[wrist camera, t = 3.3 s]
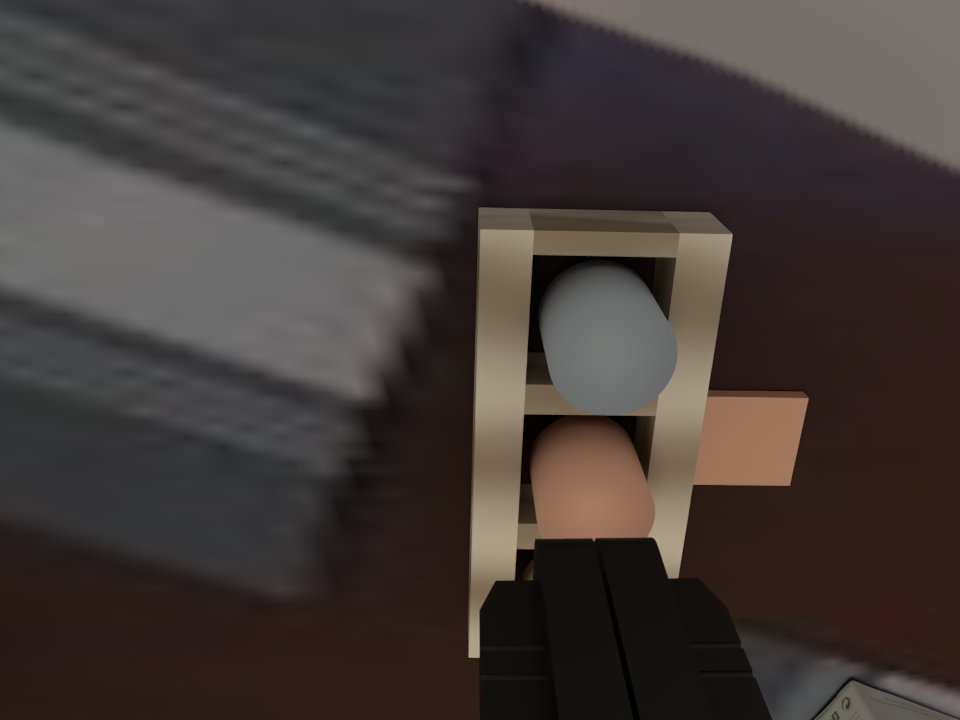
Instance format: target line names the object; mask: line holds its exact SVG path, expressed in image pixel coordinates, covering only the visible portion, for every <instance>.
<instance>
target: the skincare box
mask: <svg viewBox="0 0 960 720" xmlns="http://www.w3.org/2000/svg"><path fill="white" fill-rule="evenodd" d="M814 720H959V719H956V718H953V717H950V716H948V715H945V714H942V713H939V712H937V711H934V710H931V709H929V708H926V707H923V706H921V705H918V704H915V703H913V702H910V701H907V700H905V699H902V698H899V697H897V696H894V695H891V694H888V693H885V692H882V691H880V690H877V689H874V688H871V687H869V686H866V685H864V684H861V683H859V682H856V681H850V682H849V683H848V684H847V685H846V686H845V687H844V688H843V689H842V690H841V691H840V692H839V693H838V695H837V696H836V698H835V699H834V700H833V701H832V702H831V703H830V704H829V705H828V706H827V707H826V708H825V709H824V710H823V711H822V712H821V713H820V714H819V715H818V716H817V717H816V718H815V719H814Z"/></svg>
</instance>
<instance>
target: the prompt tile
mask: <svg viewBox="0 0 960 720" xmlns="http://www.w3.org/2000/svg"><path fill="white" fill-rule="evenodd" d="M808 399H809V398H808V397H807V395H806V394H805V393H804V392H797V391H727V390H708V394H707V400H706V406H705V412H704V419H703V425H702V431H701V438H700V444H699V450H698V457H697V463H696V469H695V475H694V482H693V485H775V486H790V482H791V478H792V473H793V468H794V464H795V459H796V454H797V450H798V445H799V441H800V436H801V431H802V427H803V422H804V418H805V413H806V408H807V404H808Z"/></svg>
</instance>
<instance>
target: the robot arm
mask: <svg viewBox="0 0 960 720" xmlns="http://www.w3.org/2000/svg"><path fill="white" fill-rule="evenodd" d="M479 626H480V720H772V718H771V715H770V713H769V711H768V708H767V706H766V703H765V701H764V698H763V696H762V693H761V691H760V688H759V686H758V683H757V681H756V678H753V676H752V668H751V666H750V663H749V661H748V658H747V656H746V654H745V651H744V649H743V648H741V641H740V639H739V636H738V634H737V631H736V629H735V626H734V624H733V621H732V619H731V616H730V614H729V611H728V609H727V607H726V606H725V605H724V604H723V603H722V602H721V601H720V600H719V599H718V598H717V597H716V596H715V595H714V594H713V593H712V592H711V591H710V590H709V589H708V587H707V586H706V585H705V584H704V583H703V582H702V581H701V580H700V579H699V578H668V575H667V572H666V569H665V566H664V563H663V560H662V557H661V554H660V551H659V548H658V545H657V542H656V541H655V539H654V538H652V537H641V538H596V539H595V541H593V539H592V538H565V539H535V543H534V560H533V580H503V581H495V583H494V585H493V586H492V588H491V590H490V592H489V594H488V596H487V597H486V599H485V601H484V603H483V605H482V607H481V608H480V610H479Z"/></svg>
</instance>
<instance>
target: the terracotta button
mask: <svg viewBox="0 0 960 720" xmlns="http://www.w3.org/2000/svg"><path fill="white" fill-rule="evenodd" d="M529 468H530V475H531V482H532V490H533V497H534V504H535V511H536V519H537V525H538V530H539V533H540V535H541V537H542V539H565V538H592V539H593V541H595V539H596V538H641V537H647V536H648V535H649V533H650V531H651V529H652V526H653V523H654V519H655V504H654V501H653V497H652V494H651V492H650V489H649V486H648V483H647V481H646V478H645V475H644V472H643V470H642V467H641V464H640V462H639V459H638V456H637V453H636V451H635V448H634V445H633V442H632V440H631V438H630V436H629V435H628V433H627V432H626V430H625V429H624V428H623V427H622V426H621V425H619V424H618V423H617V422H615V421H614V420H612V419H610V418H608V417H605V416H602V415H568V416H565V417H562V418H560V419H558V420H556V421H554V422H552V423H551V424H550V425H548V426H547V427H546V428H545V429H544V430H542V431H541V433H540V434H539V435H538V436H537V438H536V439H535V441H534V443H533V445H532V447H531V451H530V455H529Z"/></svg>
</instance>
